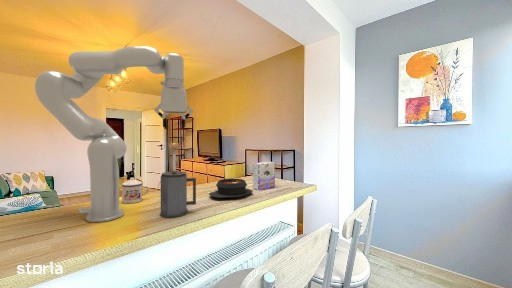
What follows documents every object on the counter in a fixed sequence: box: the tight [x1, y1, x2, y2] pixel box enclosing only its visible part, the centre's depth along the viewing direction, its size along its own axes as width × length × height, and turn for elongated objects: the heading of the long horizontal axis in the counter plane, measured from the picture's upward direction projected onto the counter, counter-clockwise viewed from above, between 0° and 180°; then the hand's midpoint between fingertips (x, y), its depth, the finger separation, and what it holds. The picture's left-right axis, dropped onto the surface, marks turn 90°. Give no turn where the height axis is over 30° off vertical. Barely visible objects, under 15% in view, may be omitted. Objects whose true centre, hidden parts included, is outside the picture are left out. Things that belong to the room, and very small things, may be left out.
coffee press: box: [159, 170, 197, 219], centre depth 96 cm, size 14×11×17 cm
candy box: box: [252, 161, 276, 191], centre depth 144 cm, size 14×6×16 cm, turn 128°
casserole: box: [208, 178, 254, 199], centre depth 125 cm, size 25×19×8 cm
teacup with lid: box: [121, 177, 150, 204], centre depth 113 cm, size 12×9×12 cm
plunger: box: [169, 142, 180, 174], centre depth 95 cm, size 8×8×20 cm
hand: (174, 128), depth 94 cm, fingers open, 5 cm apart
